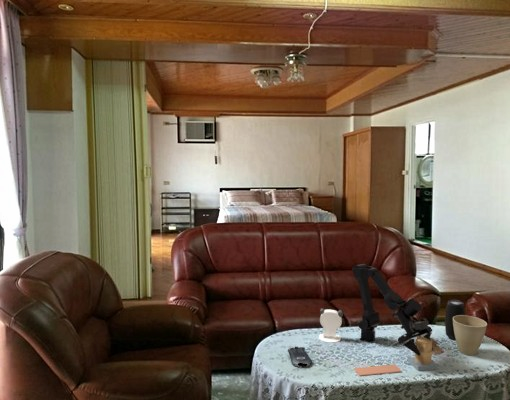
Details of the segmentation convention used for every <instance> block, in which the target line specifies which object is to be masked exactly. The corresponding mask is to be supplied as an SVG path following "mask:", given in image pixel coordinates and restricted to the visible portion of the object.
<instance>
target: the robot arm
mask: <svg viewBox="0 0 510 400" xmlns="http://www.w3.org/2000/svg"><path fill="white" fill-rule="evenodd" d="M352 274H353V277H354V279H355V280H356V281H357V282H358V287H359V293H360V297H361V301H362V306H363V312H362V315H361V319H362V320H361V321H360V322H359V323H358V324H357V325H358V328H359V329H360V337H359V340H360V341H364V342H367V343H373V342H374V341H375V340H376V330H375V329H376V328H377V327H378V325H379V324H380V322H381V321H380V320H381V318H380V313H379V311H376V309H375V308H374V305H373V300H372V295H371V289H370V284H369V279H370V278H371V280H372V281H373V282H374V284H375V286H376V287H377V288H378V290H379V291H380V293H381V294H382V296H383V299H384V300H383V302H384V303H385V305H386V307H387V308H388V309H389V310H391V311H392V316H391V318H395V317H396V318H397V320H398V321H399V323H400V324H401V326H400V328H401V329H402V330H404V332H405V333H403V334H402V335H401V336H400V337H398V338H397V341H398V344H399V346H400V345H402V346H404V347H406V349H407V348H408V349H409V350H410V351H412V352H413V353H414V354H415V353H416V354H417V355H418V356H420V355H421V354H420V352H419V350H418V348H417V347H416V342H415V338H417V336H419V337H424V338H426V339H429V340H431V339H430V338H431V335H432V333H433V332H434V329H432V327H431V326H429V325H430V322H429V320H428V319H427V318H426V317H423V318H421V319H420V320H419V321H417V320H416V319H413V317H415V316H416V315H417V314H418V313H420V312H421V311H422V310H423V307H422V305H421V303H420V302H419V301H418V300H415V298H413V297H412V298H409V299H408V300H405V299H403V298H402V297H401V295H400V294H398V293H397V292H395V291H394V290H393V289H392V288H391V286H390V285H389V284H388V282H387V281H386V279H385V278H384V277H383V276H382V274H381V272H380V270H379V269H378V268H376V267H374V266H370V265H368V264H366V263H362V264H355V265H354V266H353V267H352ZM432 350H433V347H432Z"/></svg>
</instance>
